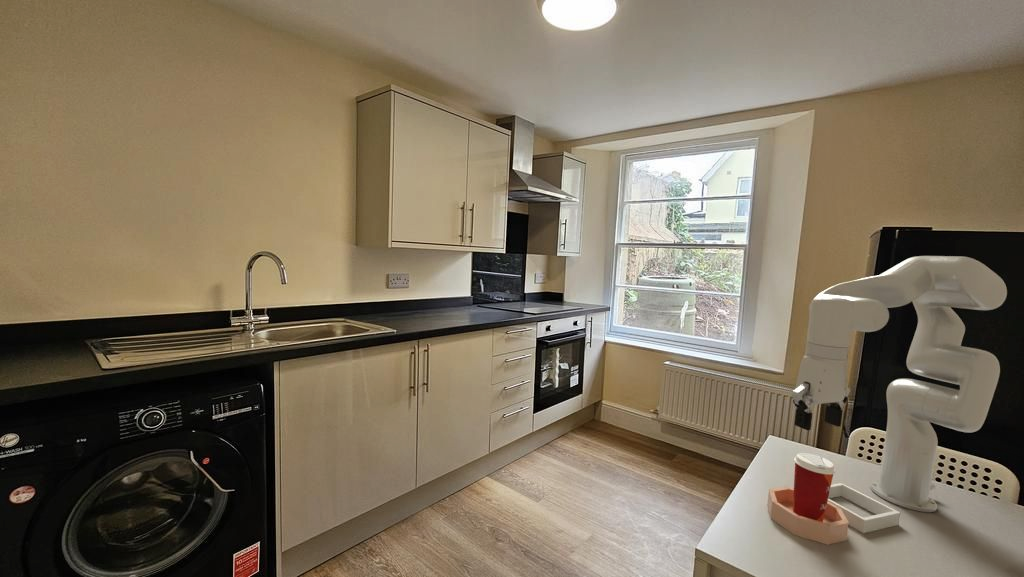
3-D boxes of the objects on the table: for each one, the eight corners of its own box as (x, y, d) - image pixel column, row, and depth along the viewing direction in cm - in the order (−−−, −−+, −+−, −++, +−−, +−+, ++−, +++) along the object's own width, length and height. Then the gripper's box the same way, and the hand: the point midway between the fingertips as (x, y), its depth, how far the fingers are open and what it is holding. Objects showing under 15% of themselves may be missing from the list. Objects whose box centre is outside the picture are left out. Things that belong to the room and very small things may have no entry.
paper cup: (835, 532, 88) (844, 471, 87) (797, 525, 90) (804, 465, 89) (816, 510, 96) (824, 454, 95) (781, 504, 97) (788, 449, 96)
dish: (795, 499, 101) (797, 484, 101) (858, 537, 88) (861, 519, 88) (754, 507, 97) (756, 491, 97) (814, 547, 84) (816, 529, 83)
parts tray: (839, 493, 106) (841, 482, 105) (898, 524, 94) (900, 512, 94) (806, 499, 102) (807, 488, 101) (863, 533, 90) (865, 520, 89)
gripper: (834, 347, 96) (826, 416, 97) (782, 349, 90) (774, 422, 92) (871, 355, 89) (861, 429, 90) (816, 357, 83) (807, 436, 85)
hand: (817, 426), depth 91 cm, fingers open, 9 cm apart
